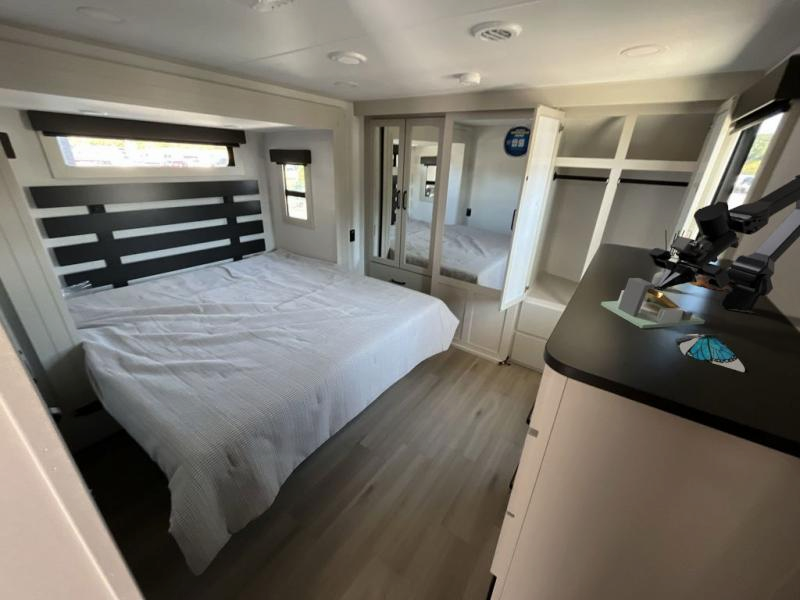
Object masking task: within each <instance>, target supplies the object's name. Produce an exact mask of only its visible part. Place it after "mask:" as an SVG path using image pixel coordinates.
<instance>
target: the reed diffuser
mask: <svg viewBox="0 0 800 600" xmlns="http://www.w3.org/2000/svg"><path fill="white" fill-rule="evenodd" d="M685 231H686V230H685V229H684V230H683V232H682V234H681V237H684V233H685ZM664 232H665V233H664V234H665V237H664V239H665V250H667V249H668V248H667V244H668V243H667V241H668V239H667V229H665V231H664ZM680 232H681V230H679V229H678V232H676V233H674V237H673V240H672V243H673V242H674V241H675V239H676V238H677V237H678V236H679V235H680ZM667 251H668V250H667ZM669 252H670V254H671V256H674V257H675V255H676V252H677V250H675V249H674V248H671V247H670V250H669ZM665 271H666V269H663V268H661V271H658V272H656V273H655V274H654V275H653V277H652V281H651V283H652V284H655V287H654V288H658V287H657V286H658V284H659V282H660V280H661V279H662V277H663V275H664V273H665Z"/></svg>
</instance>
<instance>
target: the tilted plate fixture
mask: <svg viewBox="0 0 800 600" xmlns="http://www.w3.org/2000/svg"><path fill="white" fill-rule="evenodd" d="M655 288H656V287H655V284H652V282H649V281H647V280H645V279H643V278H640V277H634V278H633V277H630V278H629V277H628V280H627V282H626V286H625V289H623V290H621V292H620V295H619V297H618V300H614V301H613V300H612V301H601V303H600V306H602V307H604V308H605V309H607V310H608V311H611V312H613V313H614V314H615V315H617V316H619V317H620V318H623V319H625V320H627V321H628V322H630V323H631V324H633V325H635V326H636V327H638V326H639V327H638V328H640V329H650V328H653V329H654V328H664V327H676V326H677V327H680V326H691V325H700V324H701V325H704V323H705V321H706V320H705V319H703V318H700V317H697V315H694V312H693V311H689V310H688V311H685V309H684V308H681V307H680V308H664V307H662V306H660V305H658V304H655V303H653V302H651V301H649V299H647V298H646V297H645V296H646V293H647V291H648V289H655ZM684 311H685V312H684ZM683 312H684V314H683ZM682 314H683V316H682Z"/></svg>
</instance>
